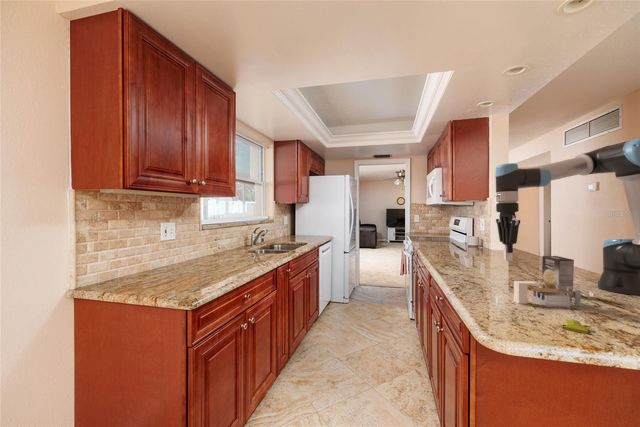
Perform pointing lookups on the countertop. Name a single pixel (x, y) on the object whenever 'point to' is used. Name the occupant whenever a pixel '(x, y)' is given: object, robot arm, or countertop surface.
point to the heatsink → (551, 299)
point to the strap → (551, 290)
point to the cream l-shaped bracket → (522, 291)
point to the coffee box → (557, 273)
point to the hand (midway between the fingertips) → (508, 260)
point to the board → (578, 303)
